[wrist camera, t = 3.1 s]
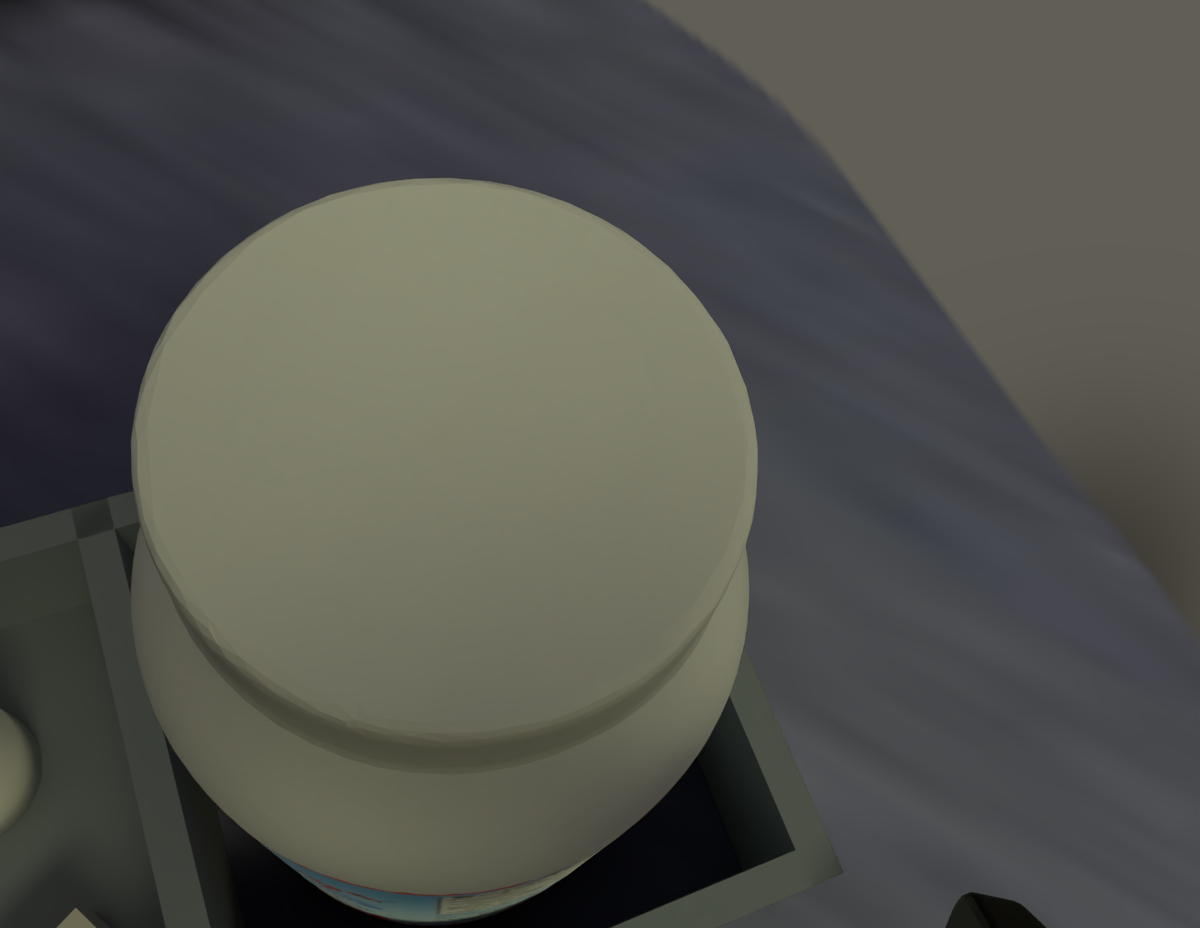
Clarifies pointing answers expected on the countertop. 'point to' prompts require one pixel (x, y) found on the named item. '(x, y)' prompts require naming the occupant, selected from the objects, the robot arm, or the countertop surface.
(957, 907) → the robot arm
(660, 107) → the countertop surface
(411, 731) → the pill bottle
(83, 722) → the tray
